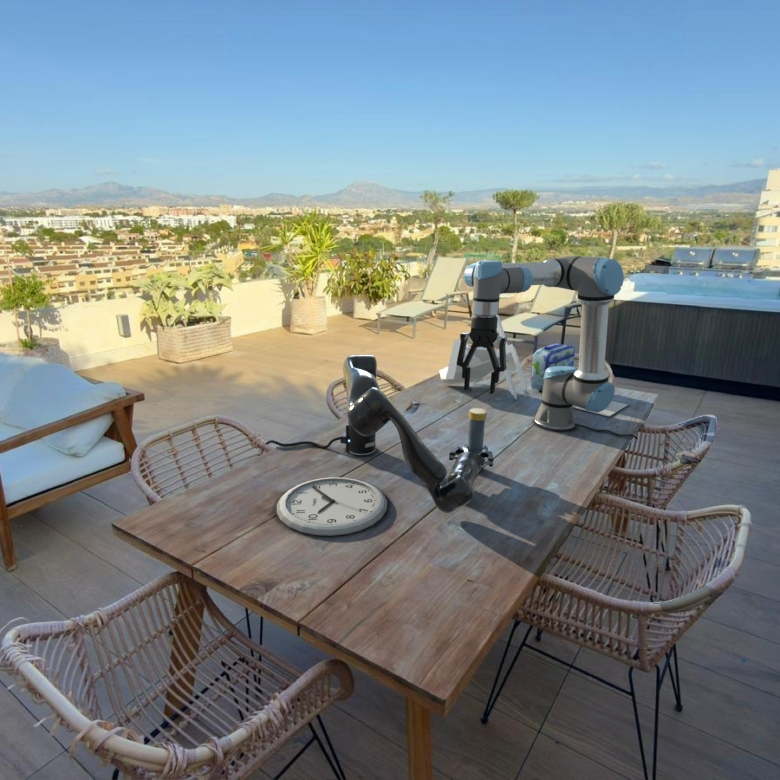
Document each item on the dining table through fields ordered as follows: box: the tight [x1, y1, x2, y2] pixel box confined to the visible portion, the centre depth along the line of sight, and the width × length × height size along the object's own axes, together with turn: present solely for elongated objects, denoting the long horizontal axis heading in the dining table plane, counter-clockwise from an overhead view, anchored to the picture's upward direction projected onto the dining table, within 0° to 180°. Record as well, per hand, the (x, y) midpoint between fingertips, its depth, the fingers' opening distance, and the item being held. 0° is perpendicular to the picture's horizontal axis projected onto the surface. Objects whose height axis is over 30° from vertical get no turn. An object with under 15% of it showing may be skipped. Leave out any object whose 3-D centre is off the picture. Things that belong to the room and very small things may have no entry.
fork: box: [405, 396, 421, 411], centre depth 222 cm, size 3×16×2 cm, turn 160°
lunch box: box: [530, 343, 576, 391], centre depth 249 cm, size 26×11×21 cm, turn 134°
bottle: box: [467, 418, 486, 472], centre depth 163 cm, size 5×5×19 cm
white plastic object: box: [438, 314, 531, 400], centre depth 245 cm, size 37×45×31 cm
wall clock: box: [276, 476, 388, 537], centre depth 142 cm, size 30×2×30 cm
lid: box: [468, 407, 488, 421], centre depth 160 cm, size 5×5×2 cm
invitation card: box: [573, 400, 629, 418], centre depth 226 cm, size 21×1×15 cm
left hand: (476, 447), depth 166 cm, fingers closed on bottle, 4 cm apart
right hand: (479, 390), depth 158 cm, fingers open, 7 cm apart
